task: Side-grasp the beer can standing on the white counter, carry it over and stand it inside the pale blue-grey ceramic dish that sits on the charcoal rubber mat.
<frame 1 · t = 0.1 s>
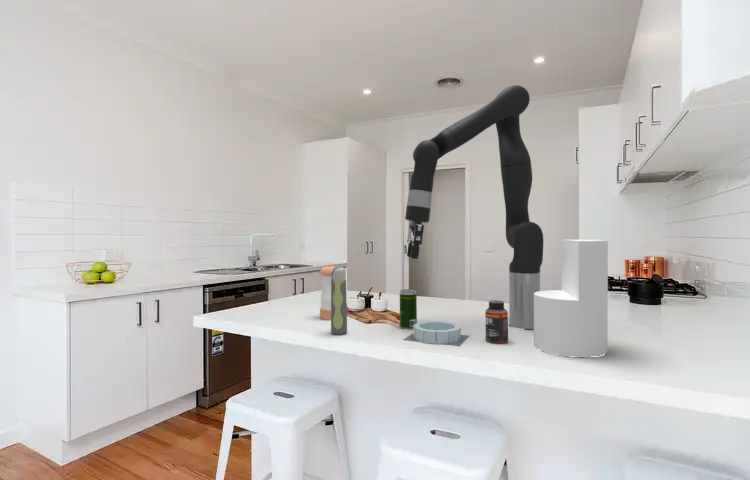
hand: (412, 257, 130), 22 cm above the countertop, tool pointing down, fingers open, 8 cm apart
supplement bottle: (496, 343, 114), on the countertop
bowl: (436, 337, 118), resting on mat
mat: (436, 339, 118), on the countertop
cylinder: (569, 348, 108), on the countertop
patterned grey bottle: (339, 333, 126), on the countertop
salt shaker: (330, 318, 148), on the countertop
beer can: (408, 329, 132), on the countertop
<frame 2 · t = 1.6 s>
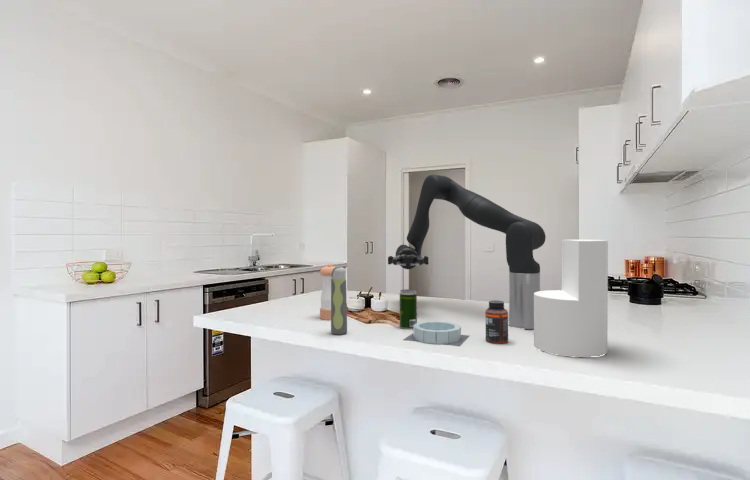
hand: (408, 261, 142), 20 cm above the countertop, tool horizontal, fingers open, 8 cm apart
nothing on the countertop moved.
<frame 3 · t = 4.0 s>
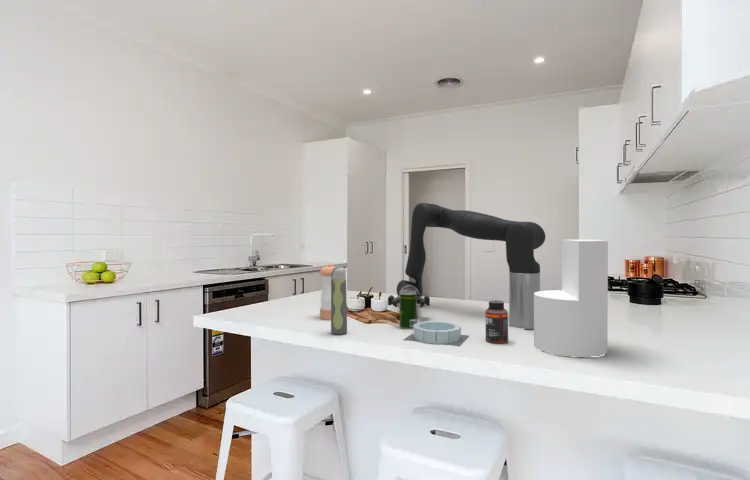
hand: (408, 304, 137), 7 cm above the countertop, tool horizontal, fingers open, 8 cm apart
nothing on the countertop moved.
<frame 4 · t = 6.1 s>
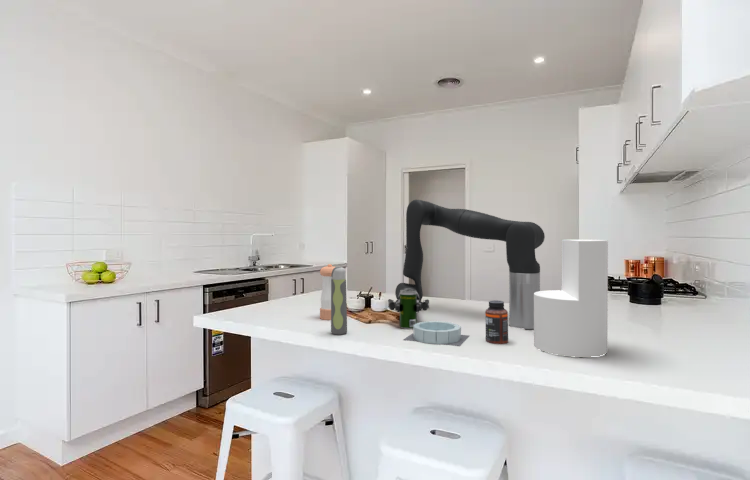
hand: (408, 308, 129), 7 cm above the countertop, tool horizontal, fingers closed on beer can, 5 cm apart
beer can: (408, 328, 132), on the countertop, touching gripper
everything else where it was.
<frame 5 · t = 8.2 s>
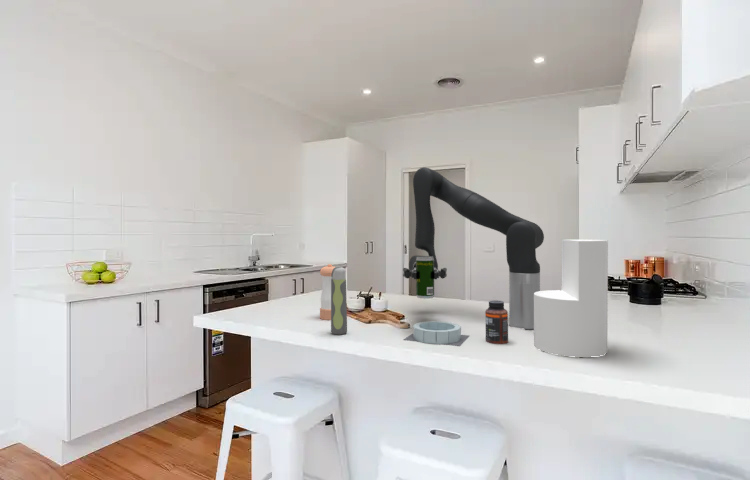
hand: (425, 275, 120), 18 cm above the countertop, tool horizontal, fingers closed on beer can, 5 cm apart
beer can: (425, 297, 123), point 11 cm above the countertop, touching gripper
everything else where it was.
when the fingers open (9 cm above the countertop, at t = 10.7 s): beer can drops 1 cm, resting on bowl.
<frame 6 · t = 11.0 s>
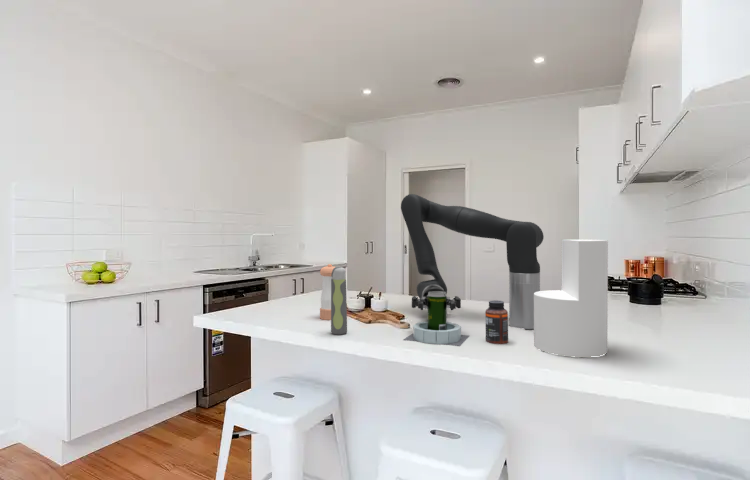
hand: (437, 306, 116), 10 cm above the countertop, tool horizontal, fingers open, 8 cm apart
beer can: (436, 335, 118), point 1 cm above the countertop, touching bowl
everything else where it was.
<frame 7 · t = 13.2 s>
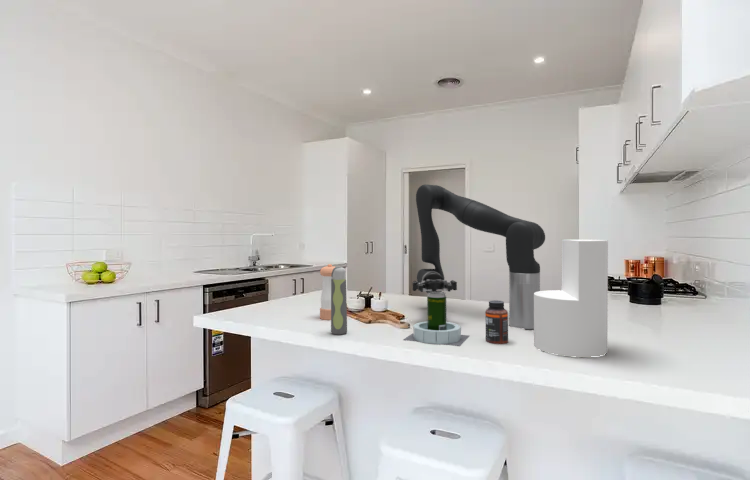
hand: (435, 288, 130), 13 cm above the countertop, tool horizontal, fingers open, 8 cm apart
nothing on the countertop moved.
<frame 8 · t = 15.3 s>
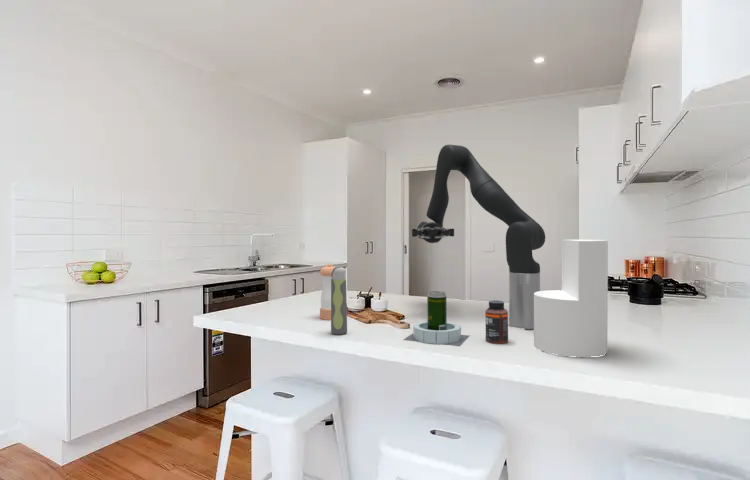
hand: (433, 232, 137), 30 cm above the countertop, tool horizontal, fingers open, 8 cm apart
nothing on the countertop moved.
at the end: beer can inside the target area on the bowl (0.1 cm from its centre), point 0.6 cm above the bowl's base; beer can tilted 0°; the gripper is holding nothing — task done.
